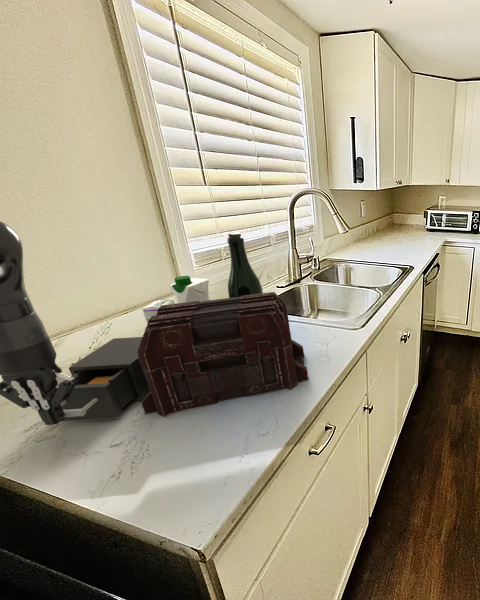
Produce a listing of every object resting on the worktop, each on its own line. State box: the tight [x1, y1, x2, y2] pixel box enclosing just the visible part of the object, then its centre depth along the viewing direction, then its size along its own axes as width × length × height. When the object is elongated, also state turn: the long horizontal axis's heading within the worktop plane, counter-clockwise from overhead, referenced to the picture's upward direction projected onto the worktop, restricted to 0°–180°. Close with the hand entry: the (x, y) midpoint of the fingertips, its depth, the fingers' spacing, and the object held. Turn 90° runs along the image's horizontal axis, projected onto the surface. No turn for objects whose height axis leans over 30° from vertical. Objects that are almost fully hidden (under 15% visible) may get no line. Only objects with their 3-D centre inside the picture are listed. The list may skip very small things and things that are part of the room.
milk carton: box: [168, 275, 211, 304], centre depth 104 cm, size 9×9×20 cm
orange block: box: [88, 376, 113, 384], centre depth 72 cm, size 4×4×4 cm
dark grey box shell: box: [68, 336, 150, 402], centre depth 80 cm, size 14×13×10 cm
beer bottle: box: [227, 232, 264, 298], centre depth 102 cm, size 10×10×33 cm
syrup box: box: [142, 299, 176, 325], centre depth 97 cm, size 6×6×14 cm
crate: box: [137, 291, 309, 418], centre depth 79 cm, size 35×19×21 cm, turn 110°
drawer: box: [50, 368, 137, 422], centre depth 71 cm, size 17×12×8 cm
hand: (55, 421), depth 62 cm, fingers closed
